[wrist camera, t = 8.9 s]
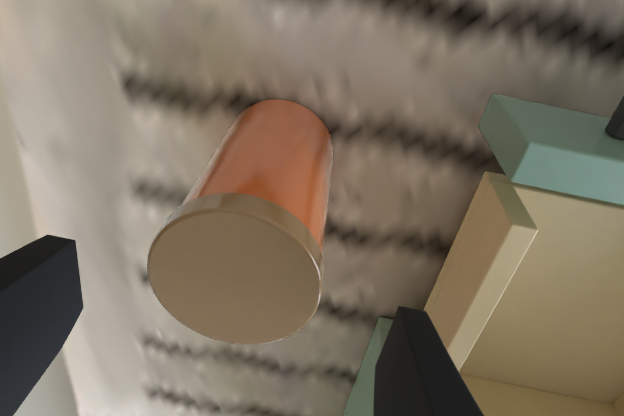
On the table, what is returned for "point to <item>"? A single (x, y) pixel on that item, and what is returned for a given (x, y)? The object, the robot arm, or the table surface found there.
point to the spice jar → (250, 230)
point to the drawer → (540, 266)
